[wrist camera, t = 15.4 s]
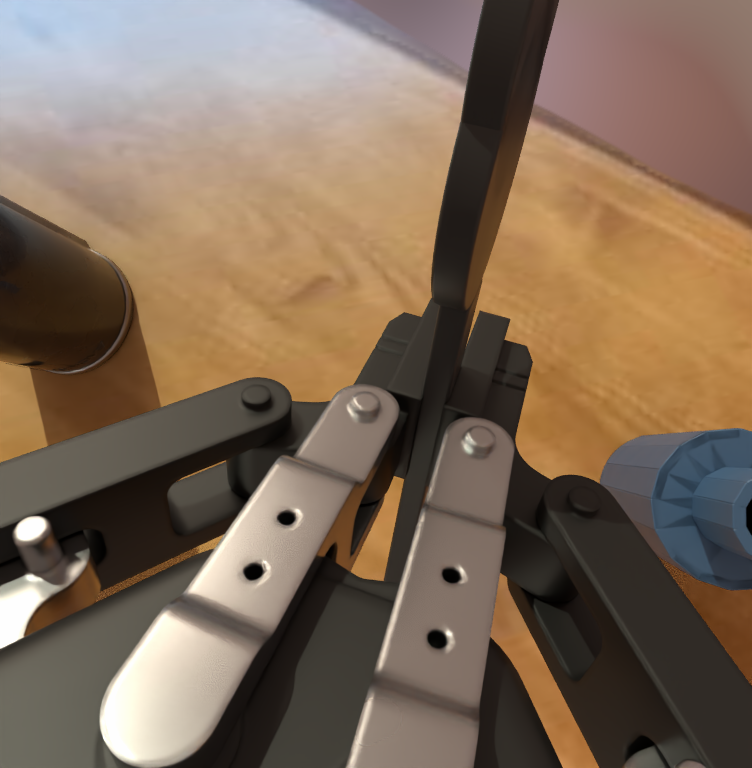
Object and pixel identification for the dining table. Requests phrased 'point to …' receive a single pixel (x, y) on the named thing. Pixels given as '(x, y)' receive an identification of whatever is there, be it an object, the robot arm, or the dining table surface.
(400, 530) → the spoon
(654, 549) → the bottle
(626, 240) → the dining table surface
